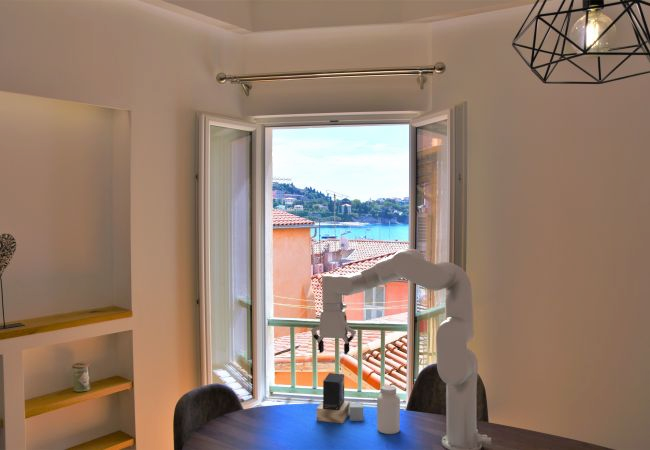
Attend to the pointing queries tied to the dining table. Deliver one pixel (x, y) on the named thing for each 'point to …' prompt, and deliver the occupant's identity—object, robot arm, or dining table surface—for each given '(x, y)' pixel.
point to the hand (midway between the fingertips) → (333, 352)
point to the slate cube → (356, 411)
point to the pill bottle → (388, 410)
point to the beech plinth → (333, 413)
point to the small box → (333, 391)
